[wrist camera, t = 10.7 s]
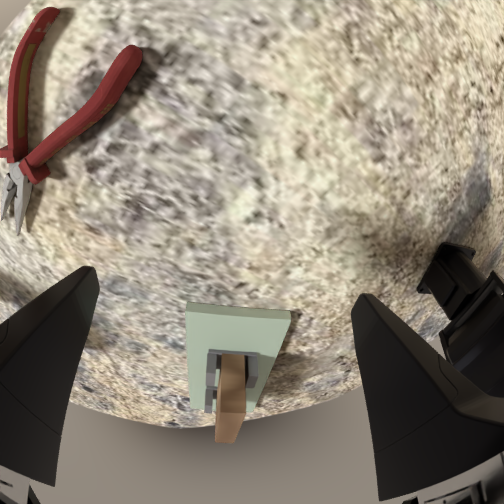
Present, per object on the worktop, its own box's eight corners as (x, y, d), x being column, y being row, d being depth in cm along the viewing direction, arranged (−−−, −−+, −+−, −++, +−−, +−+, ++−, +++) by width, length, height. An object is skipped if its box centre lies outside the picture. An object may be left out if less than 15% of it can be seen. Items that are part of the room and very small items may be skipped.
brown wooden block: (244, 354, 28) (246, 413, 22) (233, 399, 35) (233, 443, 29) (221, 353, 28) (220, 412, 22) (216, 397, 34) (215, 442, 29)
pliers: (-15, 194, 17) (-29, 206, 15) (55, 5, 9) (37, 2, 7) (54, 250, 22) (42, 266, 20) (154, 55, 14) (142, 51, 11)
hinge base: (289, 310, 26) (295, 343, 23) (252, 406, 40) (253, 427, 36) (186, 302, 25) (180, 335, 22) (191, 402, 39) (189, 423, 35)
